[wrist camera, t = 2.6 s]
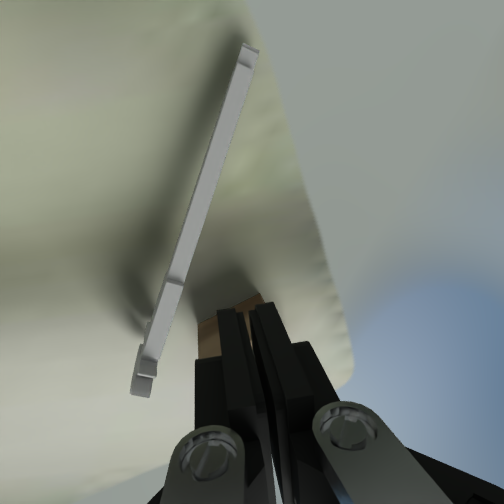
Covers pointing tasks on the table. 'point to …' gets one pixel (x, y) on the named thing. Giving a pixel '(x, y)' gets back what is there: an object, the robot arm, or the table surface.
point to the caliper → (193, 224)
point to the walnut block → (210, 330)
